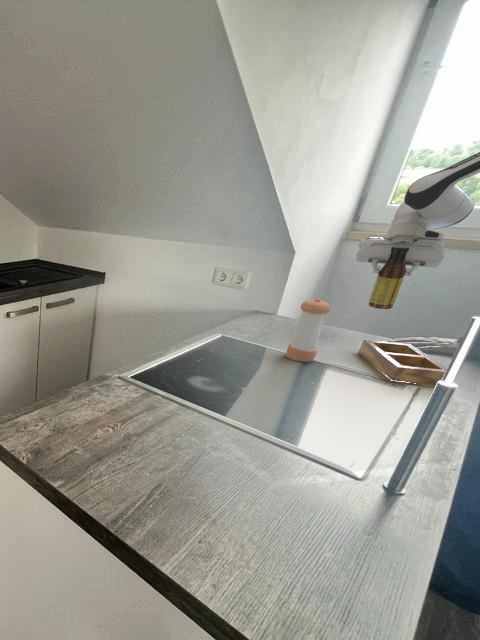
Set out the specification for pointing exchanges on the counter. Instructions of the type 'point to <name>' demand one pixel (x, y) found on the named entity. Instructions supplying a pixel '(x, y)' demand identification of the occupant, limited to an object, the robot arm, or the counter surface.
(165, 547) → the counter surface
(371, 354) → the wooden compartment tray
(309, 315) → the pepper shaker
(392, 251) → the sauce bottle
